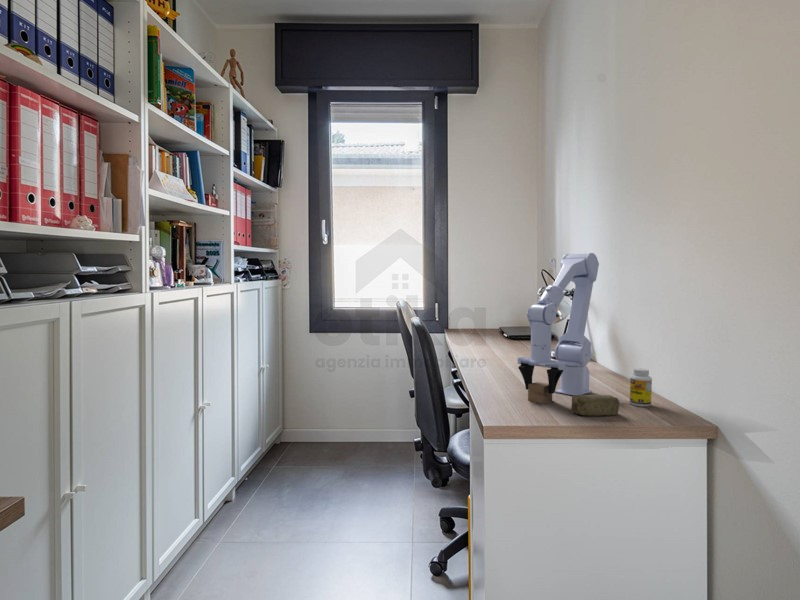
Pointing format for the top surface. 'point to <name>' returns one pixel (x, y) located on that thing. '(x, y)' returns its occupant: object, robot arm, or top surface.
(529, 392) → the walnut cube
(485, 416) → the top surface
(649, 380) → the supplement bottle
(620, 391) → the top surface
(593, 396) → the stone block
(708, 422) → the top surface
